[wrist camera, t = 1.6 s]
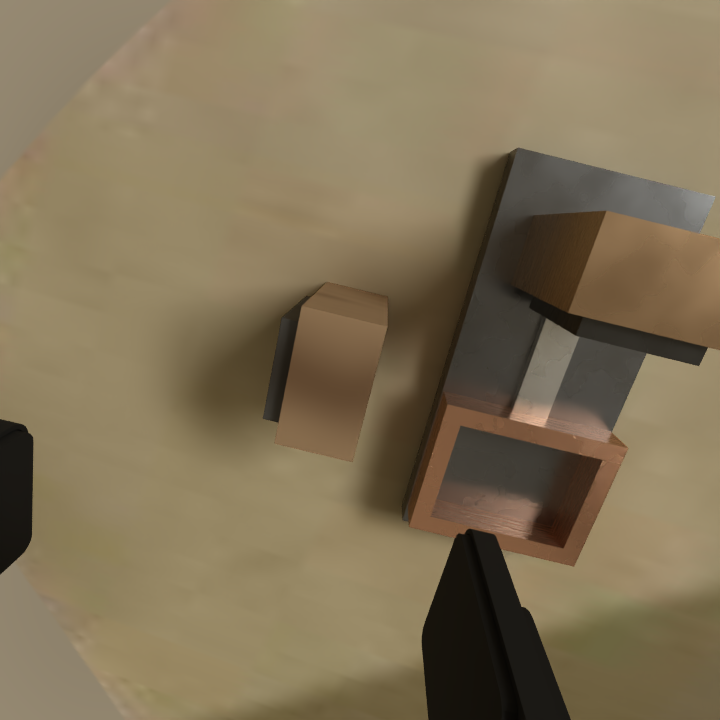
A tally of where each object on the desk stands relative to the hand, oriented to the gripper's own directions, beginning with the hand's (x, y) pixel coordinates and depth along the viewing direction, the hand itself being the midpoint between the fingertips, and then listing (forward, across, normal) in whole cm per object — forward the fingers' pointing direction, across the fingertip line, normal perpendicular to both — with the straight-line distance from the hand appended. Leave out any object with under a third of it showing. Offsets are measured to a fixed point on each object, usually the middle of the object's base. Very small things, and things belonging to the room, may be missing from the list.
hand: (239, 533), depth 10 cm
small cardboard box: (+18, 0, 0) cm, 18 cm away
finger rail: (+18, -12, -1) cm, 21 cm away
